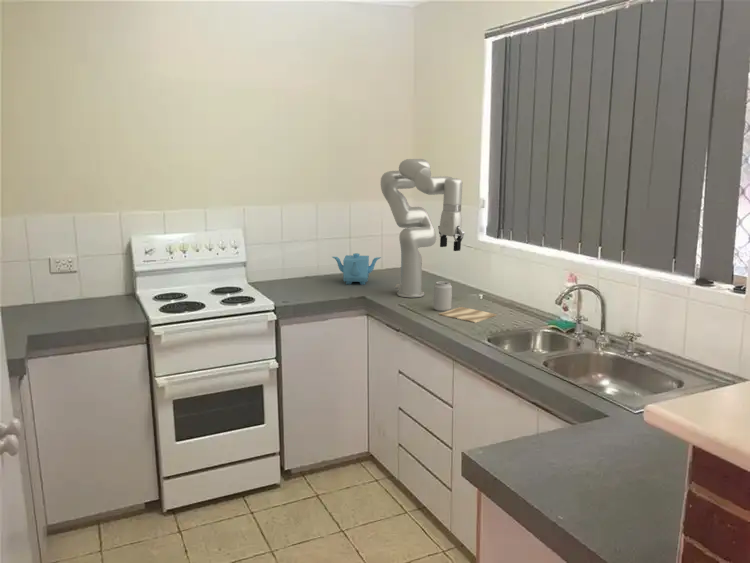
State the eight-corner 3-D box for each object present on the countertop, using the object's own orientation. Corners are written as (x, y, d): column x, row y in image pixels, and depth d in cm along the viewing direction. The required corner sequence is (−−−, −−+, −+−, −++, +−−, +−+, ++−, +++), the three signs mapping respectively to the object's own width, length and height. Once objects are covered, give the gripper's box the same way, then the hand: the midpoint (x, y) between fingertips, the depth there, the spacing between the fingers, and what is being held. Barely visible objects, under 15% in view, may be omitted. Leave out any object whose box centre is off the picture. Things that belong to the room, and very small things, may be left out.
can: (450, 312, 282) (451, 284, 280) (432, 311, 284) (433, 283, 281) (451, 308, 289) (452, 280, 287) (434, 307, 291) (435, 280, 288)
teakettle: (357, 277, 352) (357, 249, 349) (382, 282, 339) (382, 254, 336) (329, 282, 339) (329, 253, 336) (354, 288, 326) (354, 258, 323)
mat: (438, 314, 278) (438, 313, 278) (460, 307, 290) (460, 306, 290) (475, 322, 266) (475, 321, 266) (496, 315, 278) (496, 314, 278)
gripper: (432, 206, 285) (431, 245, 289) (457, 211, 271) (454, 252, 275) (447, 205, 289) (445, 244, 293) (472, 210, 274) (469, 251, 278)
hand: (450, 248), depth 284 cm, fingers open, 9 cm apart
